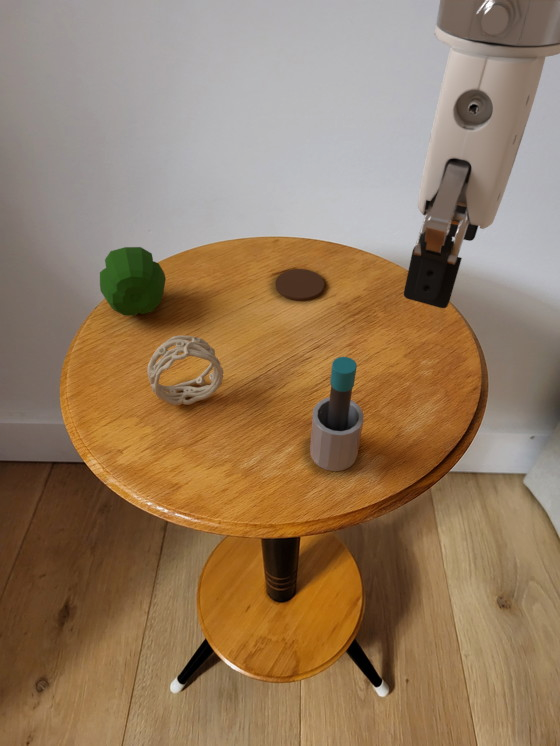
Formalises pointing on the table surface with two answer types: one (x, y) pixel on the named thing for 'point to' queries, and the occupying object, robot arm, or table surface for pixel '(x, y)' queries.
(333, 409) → the marker
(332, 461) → the pot
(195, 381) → the bracelet
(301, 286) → the coaster
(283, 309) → the table surface
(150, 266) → the bell pepper
